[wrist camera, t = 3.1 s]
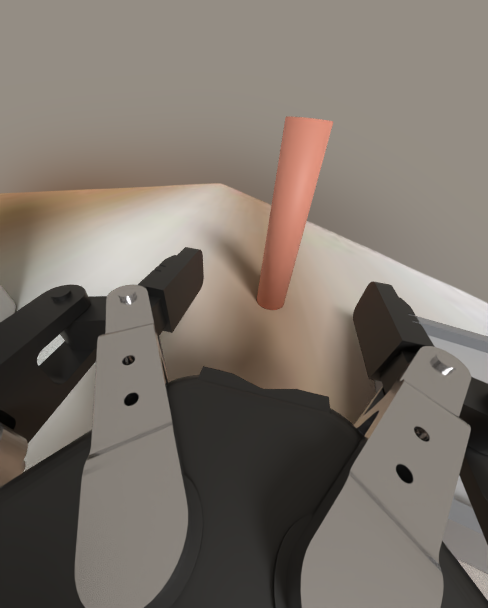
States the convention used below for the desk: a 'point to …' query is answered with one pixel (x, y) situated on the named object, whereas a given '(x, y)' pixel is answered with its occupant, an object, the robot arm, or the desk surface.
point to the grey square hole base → (462, 520)
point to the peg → (291, 204)
